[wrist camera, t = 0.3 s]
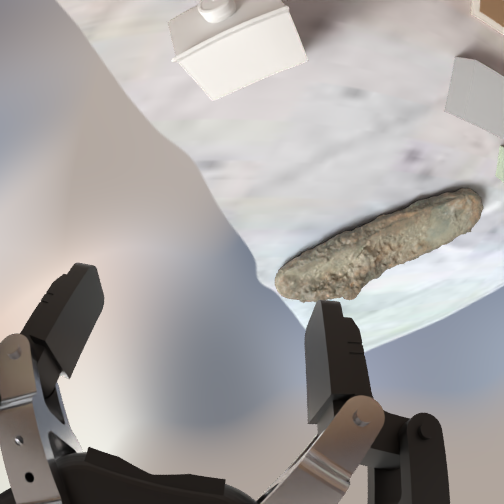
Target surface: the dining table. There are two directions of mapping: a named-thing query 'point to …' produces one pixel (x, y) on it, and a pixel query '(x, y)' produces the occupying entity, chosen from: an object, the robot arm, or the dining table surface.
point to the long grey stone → (378, 247)
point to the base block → (477, 95)
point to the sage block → (500, 164)
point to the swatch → (489, 13)
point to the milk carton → (235, 43)
